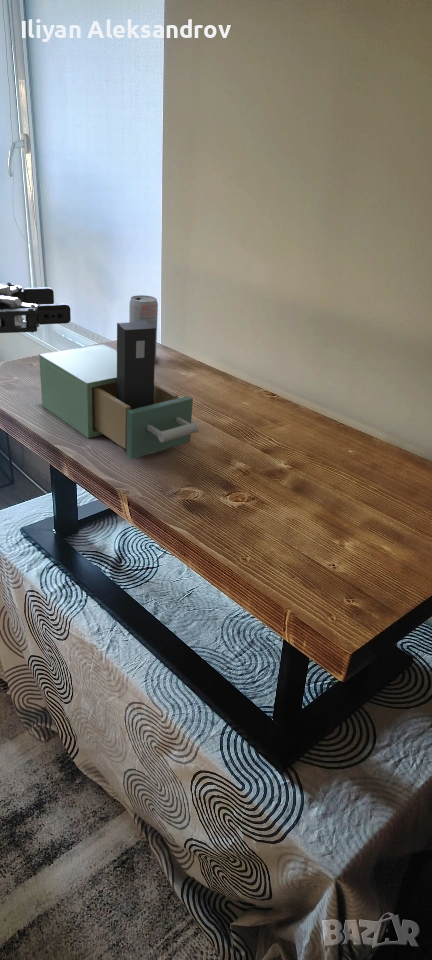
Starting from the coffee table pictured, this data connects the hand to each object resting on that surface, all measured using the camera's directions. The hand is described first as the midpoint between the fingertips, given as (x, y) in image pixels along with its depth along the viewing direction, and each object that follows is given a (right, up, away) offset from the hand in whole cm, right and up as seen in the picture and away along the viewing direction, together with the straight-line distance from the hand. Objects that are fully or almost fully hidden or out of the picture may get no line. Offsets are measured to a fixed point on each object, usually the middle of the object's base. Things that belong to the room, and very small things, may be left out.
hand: (61, 304), depth 79 cm
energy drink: (+5, +2, +45) cm, 46 cm away
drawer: (+9, -16, +12) cm, 22 cm away
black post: (+8, -14, +13) cm, 21 cm away
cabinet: (+1, -12, +21) cm, 24 cm away
